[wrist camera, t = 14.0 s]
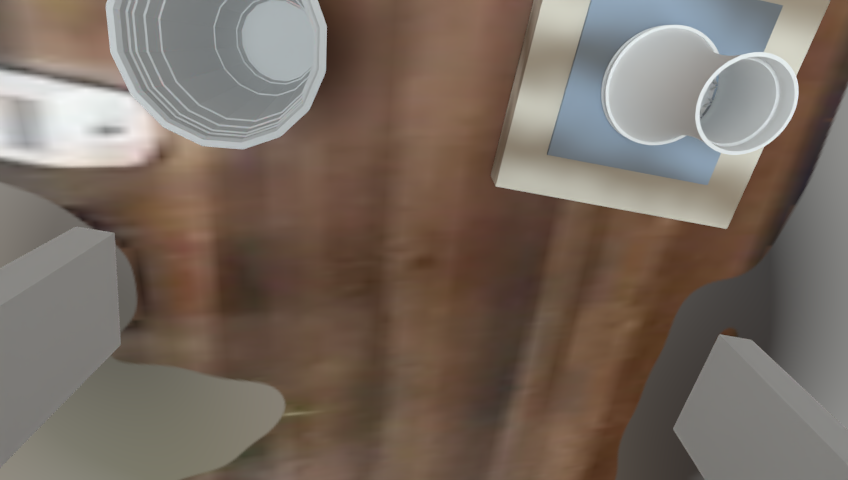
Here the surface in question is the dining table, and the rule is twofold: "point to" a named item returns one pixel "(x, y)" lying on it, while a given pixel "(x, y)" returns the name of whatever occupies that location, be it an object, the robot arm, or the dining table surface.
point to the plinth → (588, 126)
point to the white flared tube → (696, 92)
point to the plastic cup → (220, 64)
